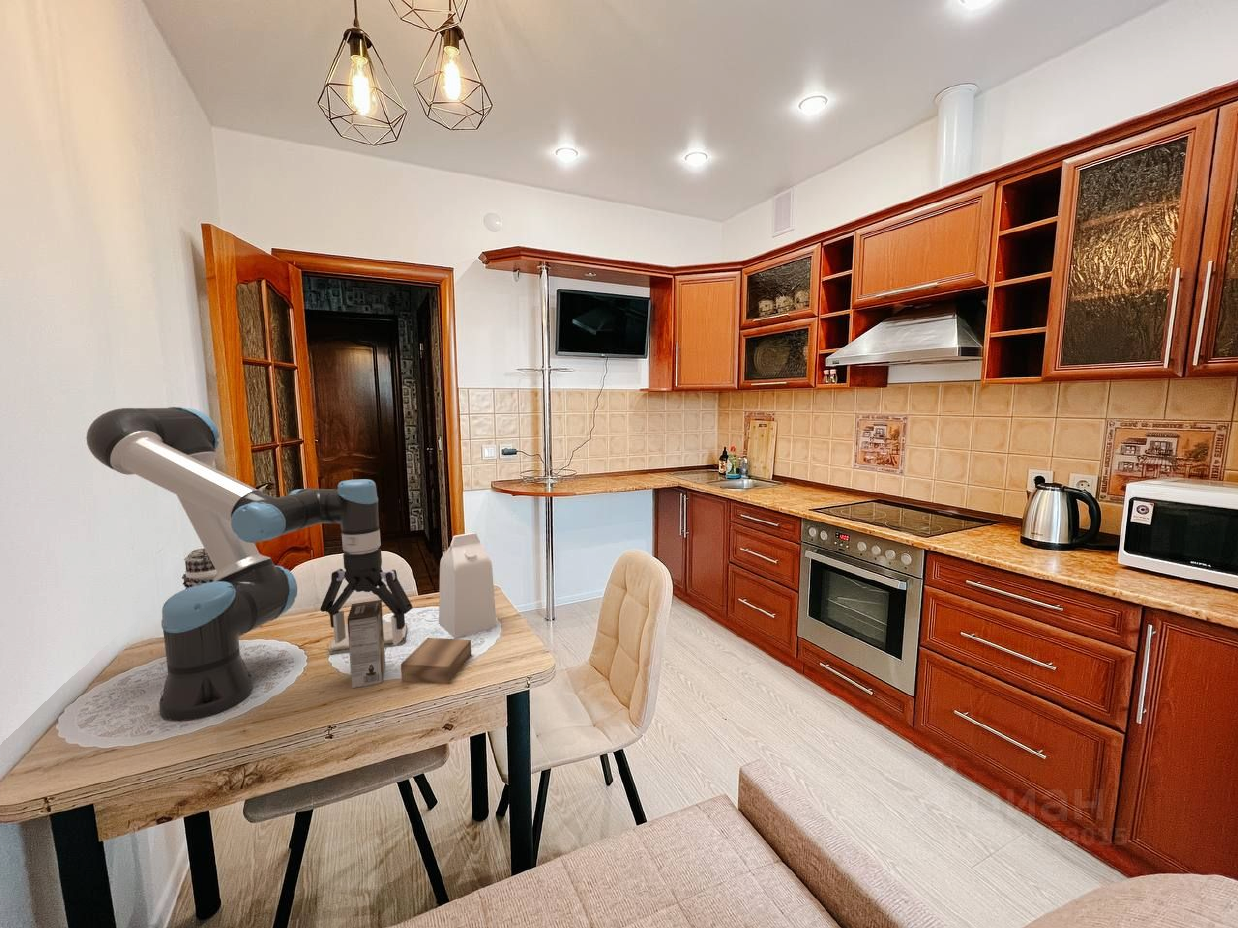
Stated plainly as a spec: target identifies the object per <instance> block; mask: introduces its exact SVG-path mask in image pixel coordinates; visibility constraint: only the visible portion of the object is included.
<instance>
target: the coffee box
mask: <svg viewBox="0 0 1238 928" xmlns="http://www.w3.org/2000/svg"><path fill="white" fill-rule="evenodd" d="M346 620H347V626H348V636H349V652H348V653H349V663H350V664H349V665H350V679H351V689H356V687H357V688H361V687H365V686H373V685H378V684H382V683H383V682H384V675H385V668H386V659H385V658H386V655H385V647H384V633H383V621H384V619H383V601H382V600H381V599H378V600H371V601H363V602H356V603H352V604H351V607H350V610H349V613H348V616H347V619H346Z"/></svg>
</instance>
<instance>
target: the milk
mask: <svg viewBox="0 0 1238 928" xmlns="http://www.w3.org/2000/svg"><path fill="white" fill-rule="evenodd" d="M493 575H494V573H493V562H492V560H491V558H490V556H489V554H488V552H487V550H486V549H485V548H484V545H483V544H482V543H481V541H480V538H479V537H478V535H477V533H475V532H469V533H462V534H457V535H453V537H452V540H451V542H450V546H448V548H447V550H446V551H445V552H444V554H443V555H442V557H441V559H440V564H439V594H438V595H439V602H438V607H439V608H438V625H439V624H440V625H439V626H440V627H441V626H442V627H443V628H444V631H446V632H447V633H448V634H449V635H450V636H451V637H452V639H460V638H463V637H466V636H469V635H472V634H475V633H479V632H483V631H486V630H489V629H493V628H497V627H498V624H497V614H496V613H497V612H496V601H495V585H494V584H495V583H494V576H493ZM442 627H441V628H442ZM443 628H442V629H443Z"/></svg>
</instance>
